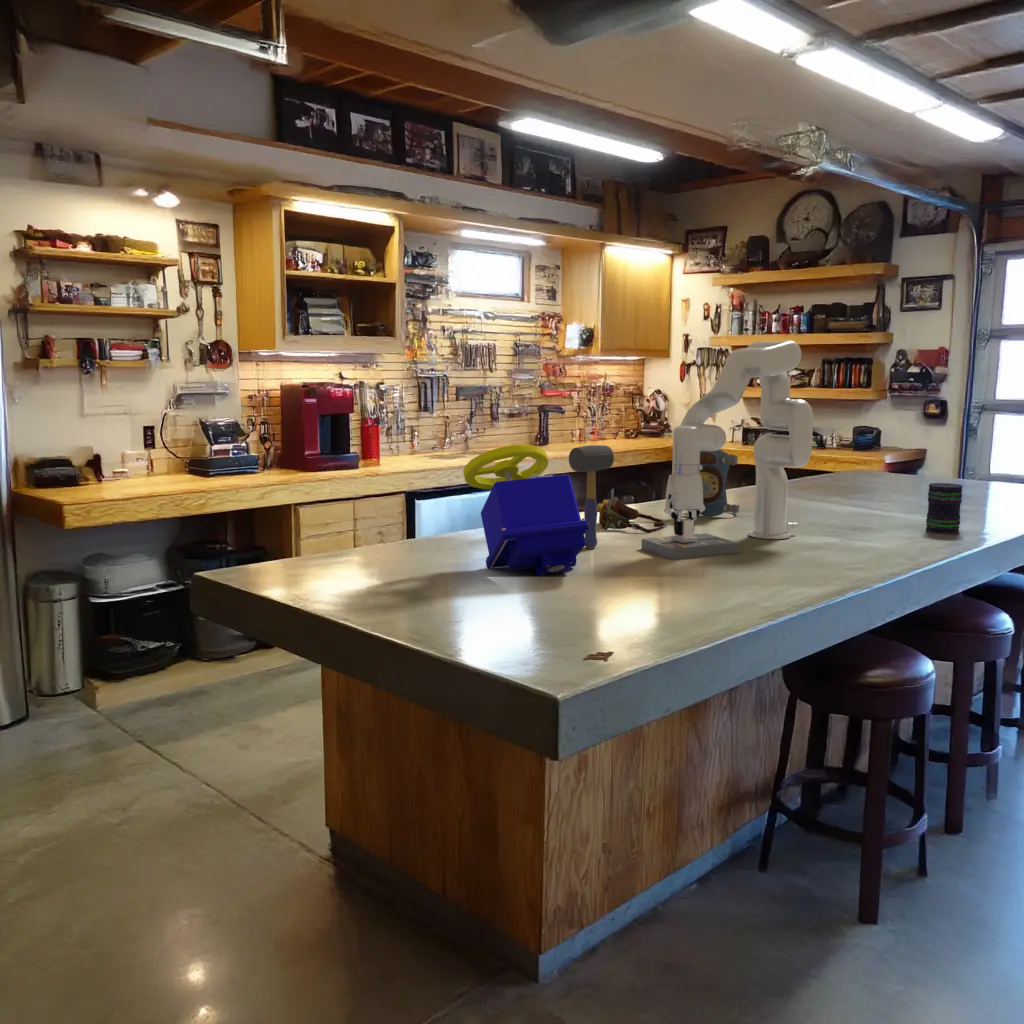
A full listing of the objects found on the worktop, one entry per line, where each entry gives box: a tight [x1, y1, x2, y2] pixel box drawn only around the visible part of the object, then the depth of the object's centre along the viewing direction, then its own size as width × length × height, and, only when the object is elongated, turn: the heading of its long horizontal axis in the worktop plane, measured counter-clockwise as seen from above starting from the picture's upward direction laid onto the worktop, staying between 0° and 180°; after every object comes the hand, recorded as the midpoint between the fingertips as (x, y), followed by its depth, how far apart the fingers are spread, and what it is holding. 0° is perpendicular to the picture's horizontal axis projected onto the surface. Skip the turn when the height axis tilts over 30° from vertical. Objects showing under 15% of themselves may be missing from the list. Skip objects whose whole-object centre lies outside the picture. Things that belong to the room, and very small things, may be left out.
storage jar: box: [925, 482, 964, 535], centre depth 285 cm, size 10×10×15 cm
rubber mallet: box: [568, 444, 615, 550], centre depth 258 cm, size 12×8×30 cm, turn 127°
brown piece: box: [582, 651, 614, 662], centre depth 171 cm, size 24×5×1 cm, turn 160°
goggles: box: [597, 496, 668, 534], centre depth 295 cm, size 24×24×10 cm
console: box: [641, 532, 739, 560], centre depth 256 cm, size 22×16×3 cm
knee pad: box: [699, 449, 740, 518], centre depth 318 cm, size 18×20×25 cm
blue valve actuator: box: [462, 444, 589, 577], centre depth 228 cm, size 26×27×30 cm
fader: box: [670, 517, 697, 543], centre depth 254 cm, size 5×6×6 cm
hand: (684, 533), depth 254 cm, fingers closed on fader, 3 cm apart
